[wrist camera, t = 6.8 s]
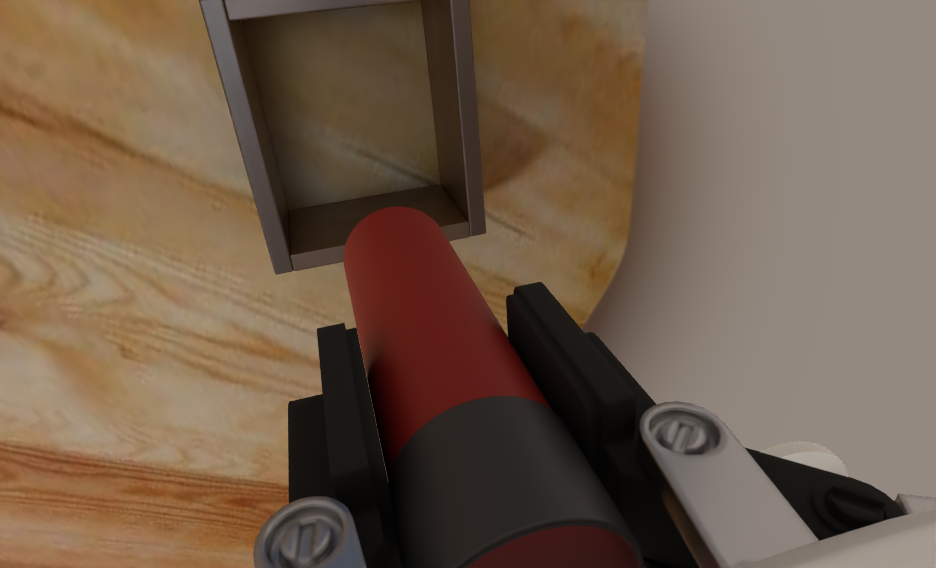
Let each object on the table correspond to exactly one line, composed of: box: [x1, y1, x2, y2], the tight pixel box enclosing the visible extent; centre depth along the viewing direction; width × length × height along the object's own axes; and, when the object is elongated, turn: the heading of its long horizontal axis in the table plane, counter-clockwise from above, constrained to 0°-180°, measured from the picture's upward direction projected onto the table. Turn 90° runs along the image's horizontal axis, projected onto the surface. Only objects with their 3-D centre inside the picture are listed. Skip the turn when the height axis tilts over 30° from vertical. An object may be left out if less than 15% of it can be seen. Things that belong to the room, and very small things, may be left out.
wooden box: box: [199, 0, 486, 274], centre depth 26 cm, size 10×11×6 cm
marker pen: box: [343, 207, 644, 568], centre depth 12 cm, size 3×3×11 cm
